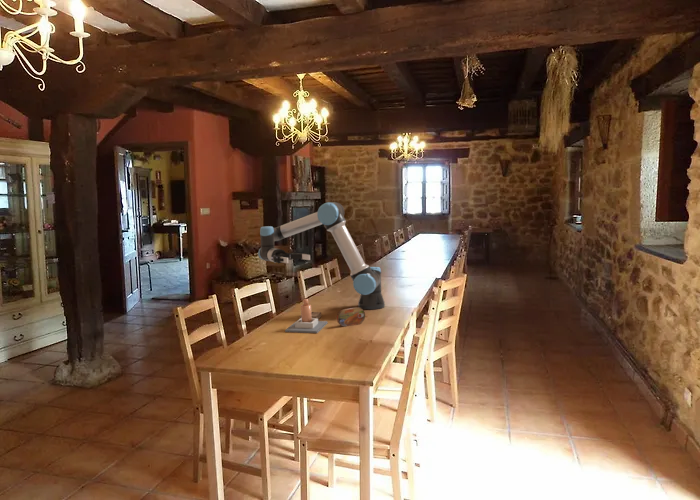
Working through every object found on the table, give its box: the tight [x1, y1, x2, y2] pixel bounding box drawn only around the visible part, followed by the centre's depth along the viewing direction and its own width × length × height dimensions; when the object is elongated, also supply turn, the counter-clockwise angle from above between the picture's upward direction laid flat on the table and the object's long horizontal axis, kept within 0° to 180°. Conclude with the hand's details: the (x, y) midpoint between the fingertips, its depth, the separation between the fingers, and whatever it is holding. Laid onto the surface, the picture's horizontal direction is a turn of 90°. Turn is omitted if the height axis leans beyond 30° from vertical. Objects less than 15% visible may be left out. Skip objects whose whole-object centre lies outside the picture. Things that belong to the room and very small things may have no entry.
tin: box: [336, 307, 366, 328], centre depth 253 cm, size 15×3×8 cm, turn 117°
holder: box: [284, 317, 328, 334], centre depth 250 cm, size 16×18×4 cm
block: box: [299, 311, 322, 320], centre depth 267 cm, size 9×9×2 cm
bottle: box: [300, 298, 312, 323], centre depth 249 cm, size 5×5×13 cm
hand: (298, 259), depth 262 cm, fingers open, 13 cm apart
